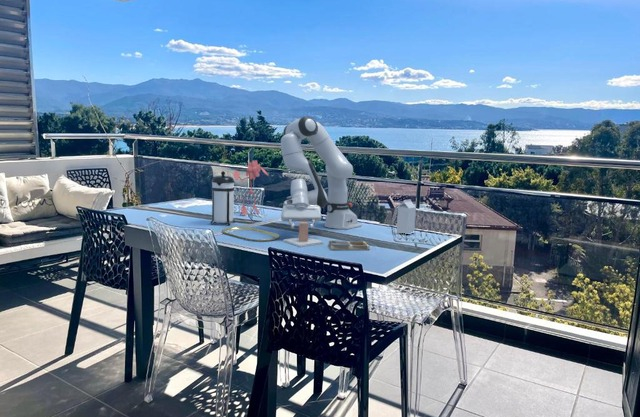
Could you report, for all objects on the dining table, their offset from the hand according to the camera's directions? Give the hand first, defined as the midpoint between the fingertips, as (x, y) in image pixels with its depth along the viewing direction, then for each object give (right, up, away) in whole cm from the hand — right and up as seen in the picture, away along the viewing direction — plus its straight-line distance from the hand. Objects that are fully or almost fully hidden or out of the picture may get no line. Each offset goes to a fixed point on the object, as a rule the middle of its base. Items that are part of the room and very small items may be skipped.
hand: (302, 227), depth 244 cm
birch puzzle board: (+22, -9, -9) cm, 26 cm away
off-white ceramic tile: (0, -7, -2) cm, 7 cm away
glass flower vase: (-34, +5, +69) cm, 77 cm away
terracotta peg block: (+1, -6, -2) cm, 7 cm away
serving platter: (-27, -5, +11) cm, 30 cm away
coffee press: (-47, +1, +40) cm, 62 cm away
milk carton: (+56, -5, +30) cm, 64 cm away
